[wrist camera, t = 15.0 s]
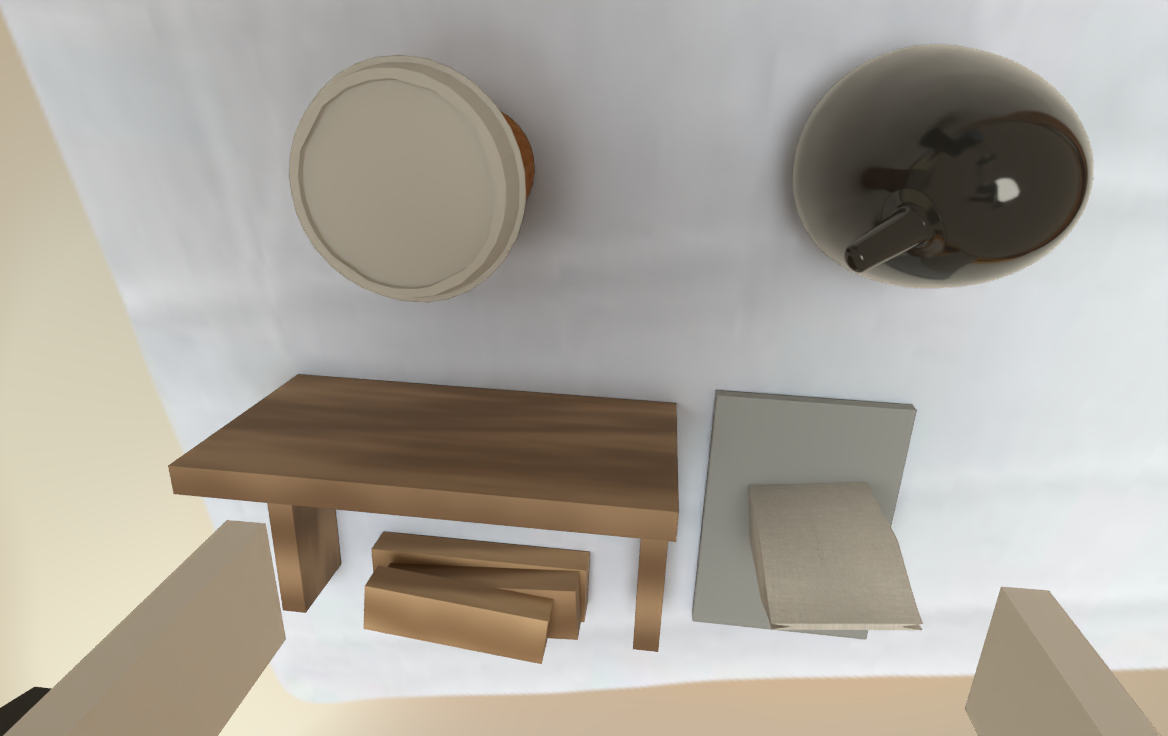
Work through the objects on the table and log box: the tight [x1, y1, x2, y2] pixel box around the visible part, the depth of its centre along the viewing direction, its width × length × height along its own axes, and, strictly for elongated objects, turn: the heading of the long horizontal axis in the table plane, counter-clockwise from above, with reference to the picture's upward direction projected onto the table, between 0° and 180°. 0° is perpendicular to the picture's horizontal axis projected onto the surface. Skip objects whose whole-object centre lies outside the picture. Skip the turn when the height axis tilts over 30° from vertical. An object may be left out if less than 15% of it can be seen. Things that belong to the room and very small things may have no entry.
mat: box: [692, 390, 917, 639], centre depth 42 cm, size 16×11×1 cm
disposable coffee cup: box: [289, 55, 535, 302], centre depth 32 cm, size 10×10×12 cm
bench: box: [168, 374, 679, 652], centre depth 39 cm, size 14×24×12 cm, turn 88°
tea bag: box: [748, 482, 923, 630], centre depth 37 cm, size 4×7×10 cm, turn 95°
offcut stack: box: [364, 532, 590, 664], centre depth 44 cm, size 5×14×6 cm, turn 88°
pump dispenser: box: [793, 44, 1094, 288], centre depth 28 cm, size 10×10×15 cm
